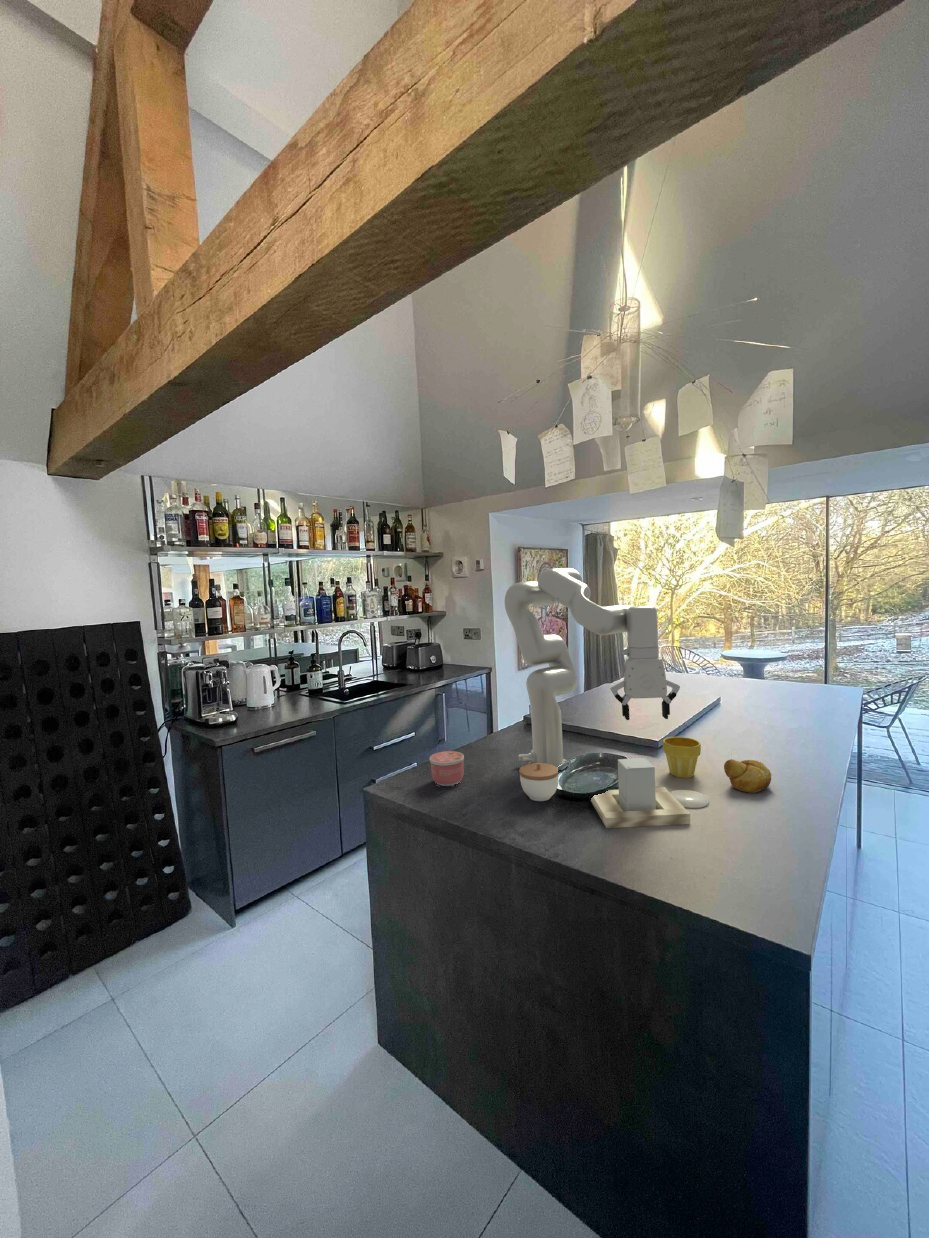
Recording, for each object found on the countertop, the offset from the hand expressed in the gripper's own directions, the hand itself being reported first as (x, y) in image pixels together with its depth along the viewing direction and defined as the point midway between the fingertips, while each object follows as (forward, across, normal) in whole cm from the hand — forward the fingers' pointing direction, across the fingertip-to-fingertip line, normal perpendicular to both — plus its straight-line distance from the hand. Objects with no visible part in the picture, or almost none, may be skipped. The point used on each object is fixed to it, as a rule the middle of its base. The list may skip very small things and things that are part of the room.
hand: (646, 718), depth 135 cm
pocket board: (+22, -4, -6) cm, 23 cm away
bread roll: (+23, +29, +10) cm, 38 cm away
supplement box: (+22, -4, -6) cm, 24 cm away
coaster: (+22, +10, +1) cm, 25 cm away
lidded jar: (+22, -29, +3) cm, 36 cm away
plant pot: (+22, +14, +20) cm, 33 cm away
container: (+22, -56, +14) cm, 62 cm away
